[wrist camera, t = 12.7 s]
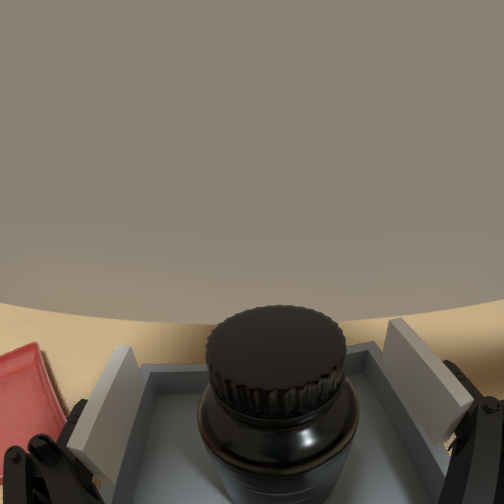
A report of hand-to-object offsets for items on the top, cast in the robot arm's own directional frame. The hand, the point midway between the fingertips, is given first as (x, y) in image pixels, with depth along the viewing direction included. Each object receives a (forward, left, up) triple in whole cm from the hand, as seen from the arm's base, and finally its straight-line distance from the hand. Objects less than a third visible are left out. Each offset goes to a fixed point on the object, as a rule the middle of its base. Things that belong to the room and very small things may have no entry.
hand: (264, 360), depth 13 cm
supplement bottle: (0, +3, -9) cm, 9 cm away
